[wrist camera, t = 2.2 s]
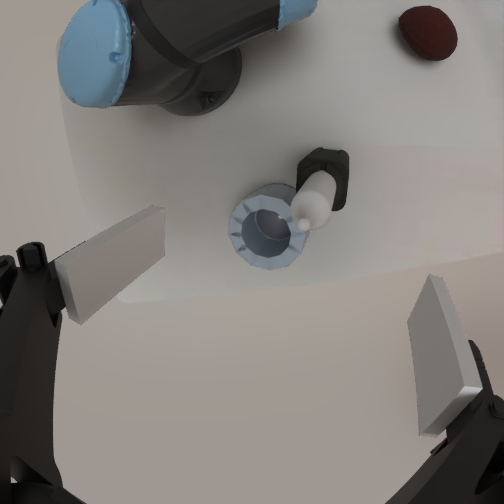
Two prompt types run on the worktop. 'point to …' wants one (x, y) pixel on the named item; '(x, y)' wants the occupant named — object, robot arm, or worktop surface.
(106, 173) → the worktop surface
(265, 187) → the pale blue faceted cup
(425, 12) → the potato
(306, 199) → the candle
